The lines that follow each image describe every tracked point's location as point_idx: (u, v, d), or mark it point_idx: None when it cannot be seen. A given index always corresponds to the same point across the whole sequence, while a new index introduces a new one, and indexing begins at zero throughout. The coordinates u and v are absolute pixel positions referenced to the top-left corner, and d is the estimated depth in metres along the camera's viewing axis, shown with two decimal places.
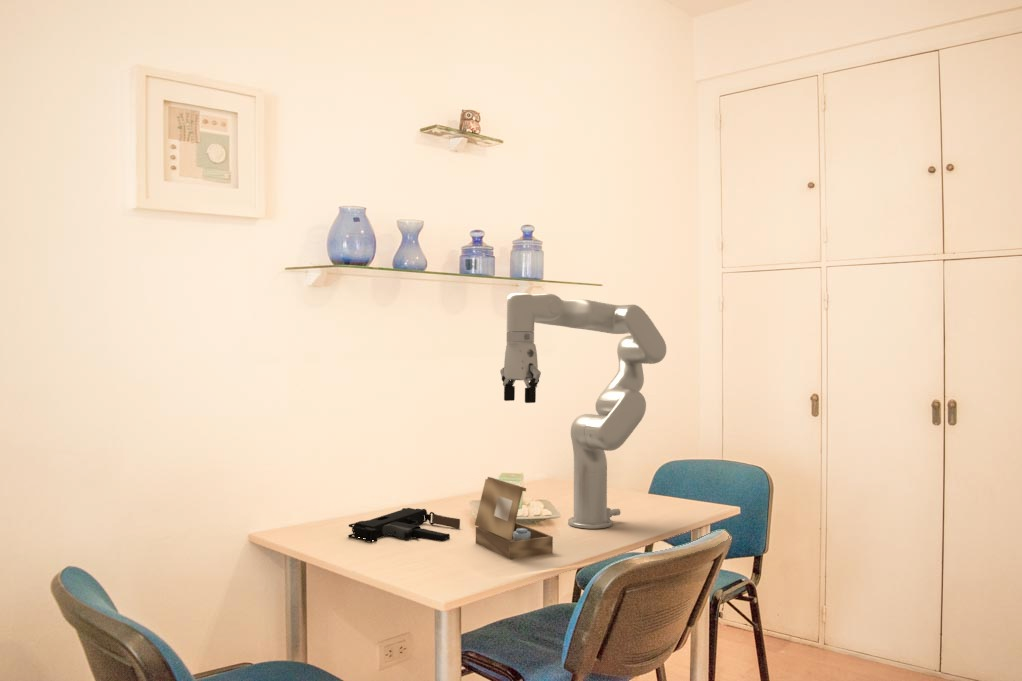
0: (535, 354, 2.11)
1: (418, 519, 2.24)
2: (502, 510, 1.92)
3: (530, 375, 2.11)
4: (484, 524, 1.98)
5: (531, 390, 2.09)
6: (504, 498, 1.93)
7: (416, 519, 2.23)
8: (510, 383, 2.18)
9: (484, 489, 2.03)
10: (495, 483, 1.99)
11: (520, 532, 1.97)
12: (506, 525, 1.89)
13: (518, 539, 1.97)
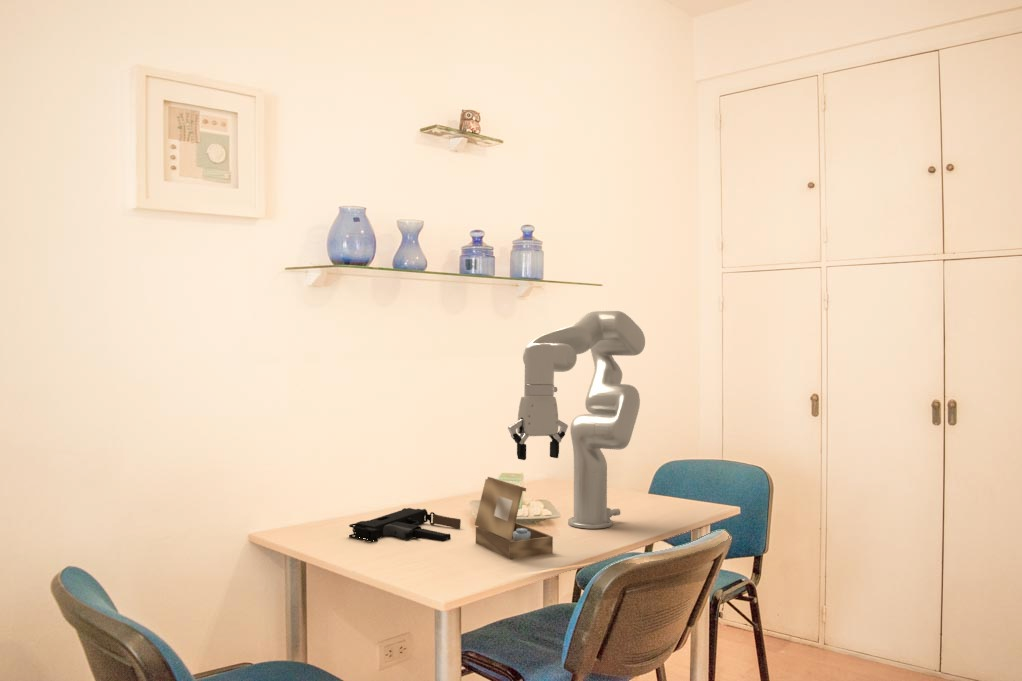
0: None
1: (418, 519, 2.24)
2: (502, 510, 1.92)
3: None
4: (484, 524, 1.98)
5: None
6: (504, 498, 1.93)
7: (416, 519, 2.23)
8: None
9: (484, 489, 2.03)
10: (495, 483, 1.99)
11: (520, 532, 1.97)
12: (506, 525, 1.89)
13: (518, 539, 1.97)
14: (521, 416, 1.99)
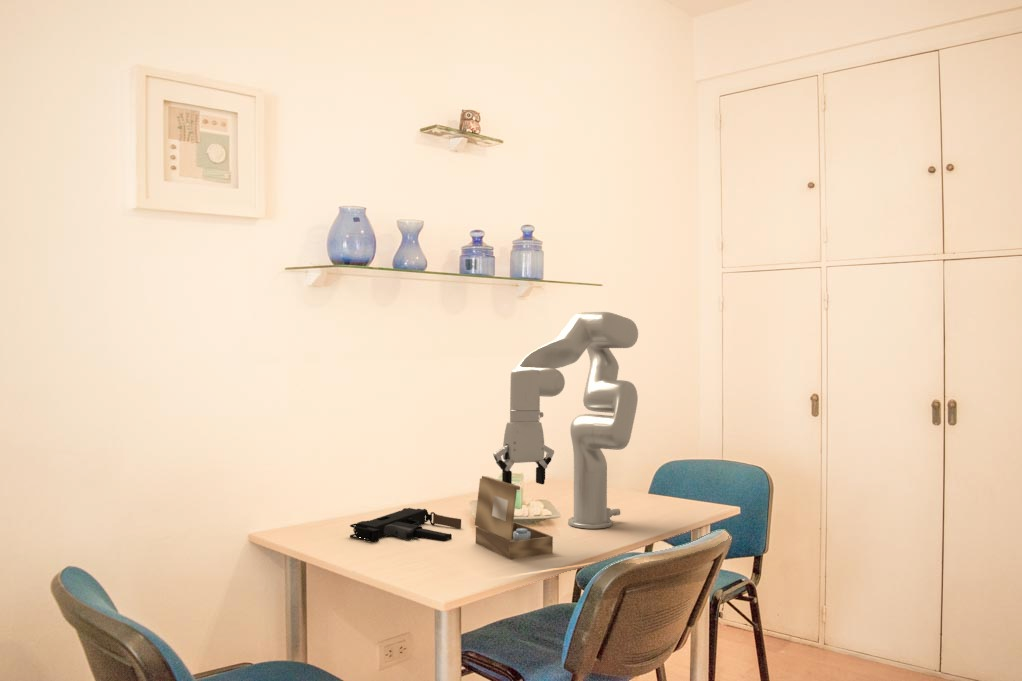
0: None
1: (419, 519, 2.24)
2: (499, 510, 1.92)
3: None
4: (484, 524, 1.98)
5: None
6: (499, 498, 1.93)
7: (417, 519, 2.23)
8: None
9: (480, 489, 2.02)
10: (489, 482, 1.98)
11: (520, 532, 1.97)
12: (505, 525, 1.89)
13: (518, 539, 1.97)
14: (506, 442, 1.97)
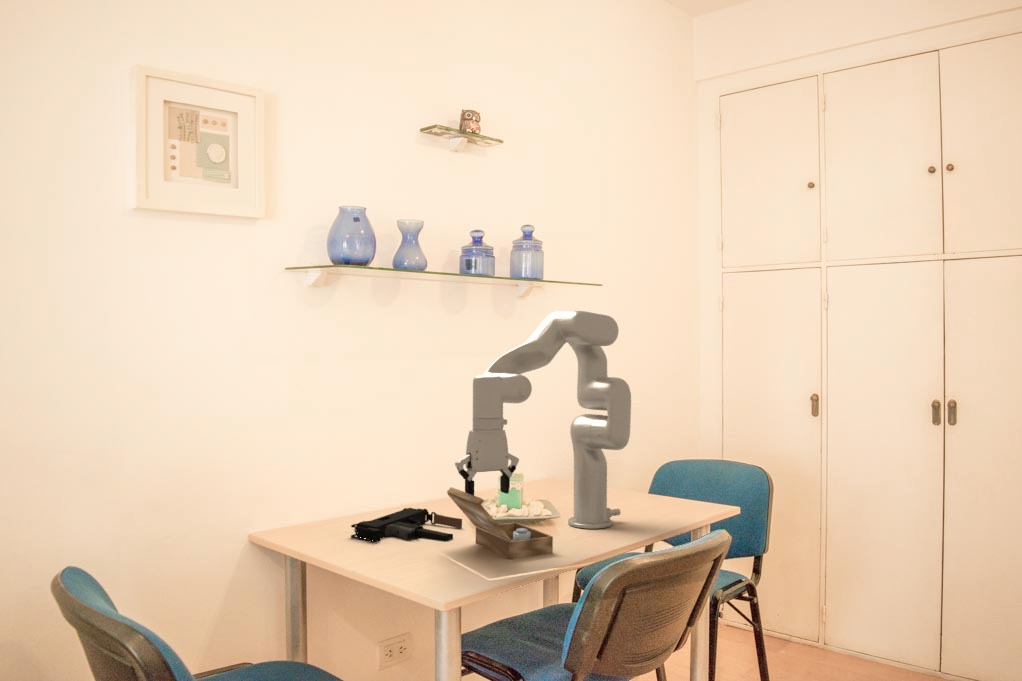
0: None
1: (420, 519, 2.24)
2: (483, 519, 1.90)
3: None
4: (481, 527, 1.98)
5: None
6: (475, 510, 1.90)
7: (418, 519, 2.23)
8: None
9: (454, 501, 1.99)
10: (457, 498, 1.94)
11: (520, 532, 1.97)
12: (496, 530, 1.88)
13: (518, 539, 1.97)
14: (469, 451, 1.92)
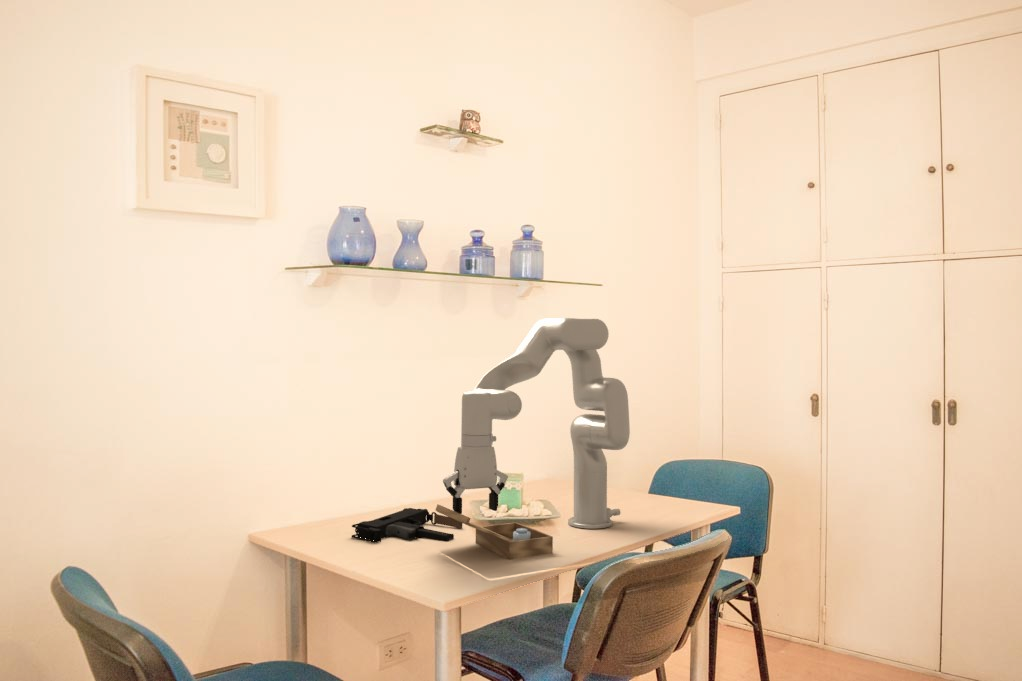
0: None
1: (420, 519, 2.24)
2: None
3: None
4: None
5: None
6: None
7: (418, 519, 2.23)
8: None
9: None
10: (446, 515, 1.92)
11: (520, 532, 1.97)
12: None
13: (518, 539, 1.97)
14: (457, 468, 1.90)
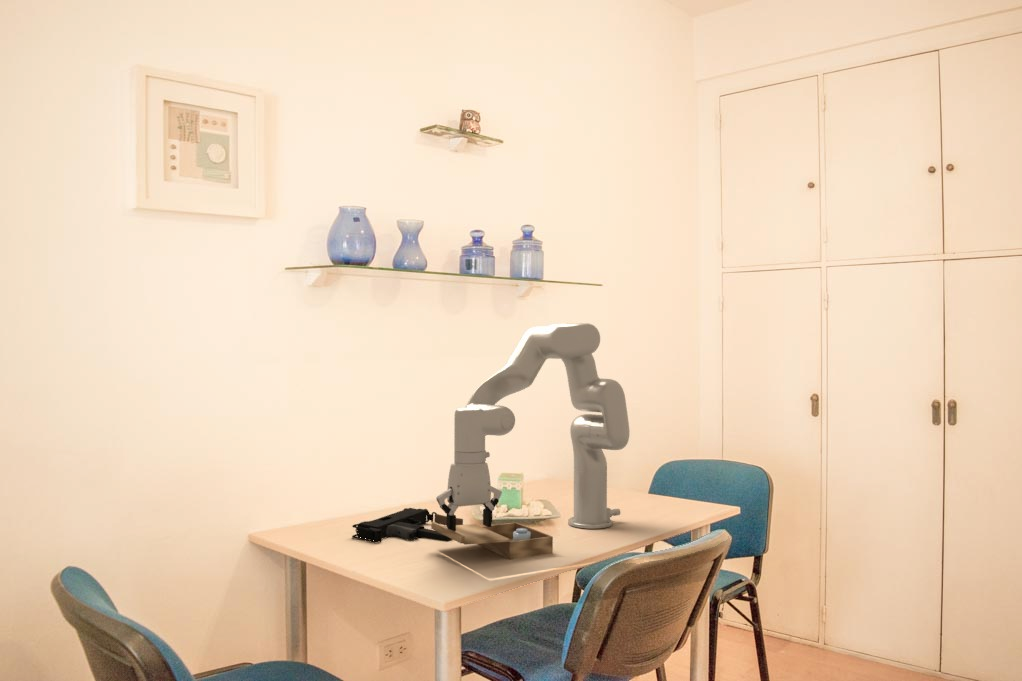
0: None
1: (420, 519, 2.24)
2: None
3: None
4: None
5: None
6: None
7: (418, 519, 2.23)
8: None
9: None
10: None
11: (520, 532, 1.97)
12: None
13: (518, 539, 1.97)
14: (450, 485, 1.89)
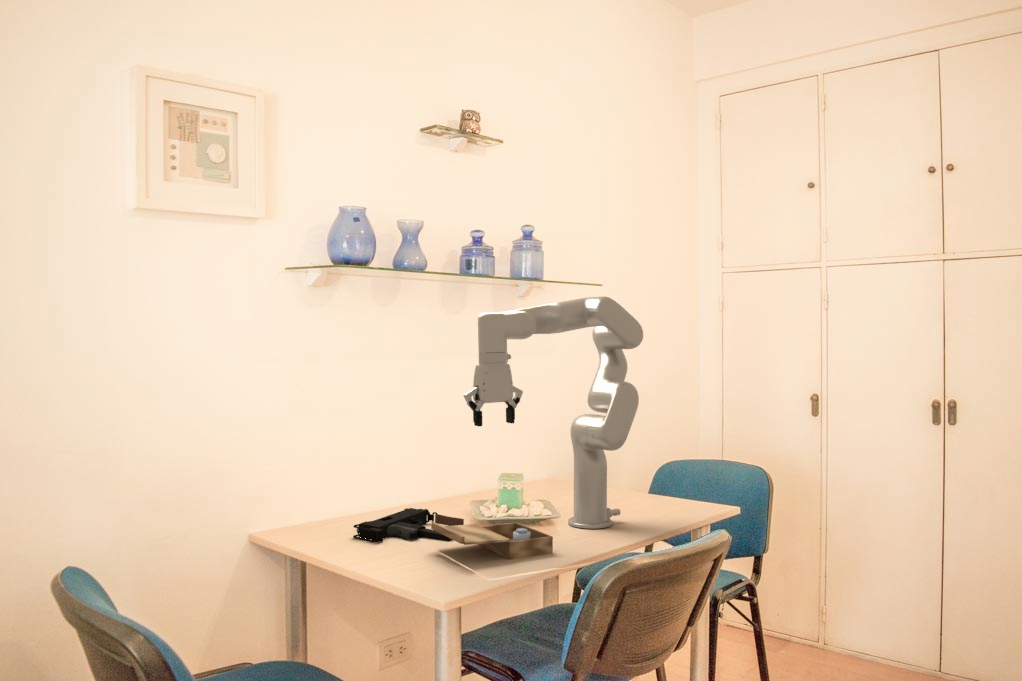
0: None
1: (421, 519, 2.24)
2: None
3: None
4: None
5: None
6: (464, 537, 1.88)
7: (419, 519, 2.23)
8: None
9: None
10: None
11: (520, 532, 1.97)
12: None
13: (518, 539, 1.97)
14: (476, 384, 2.04)
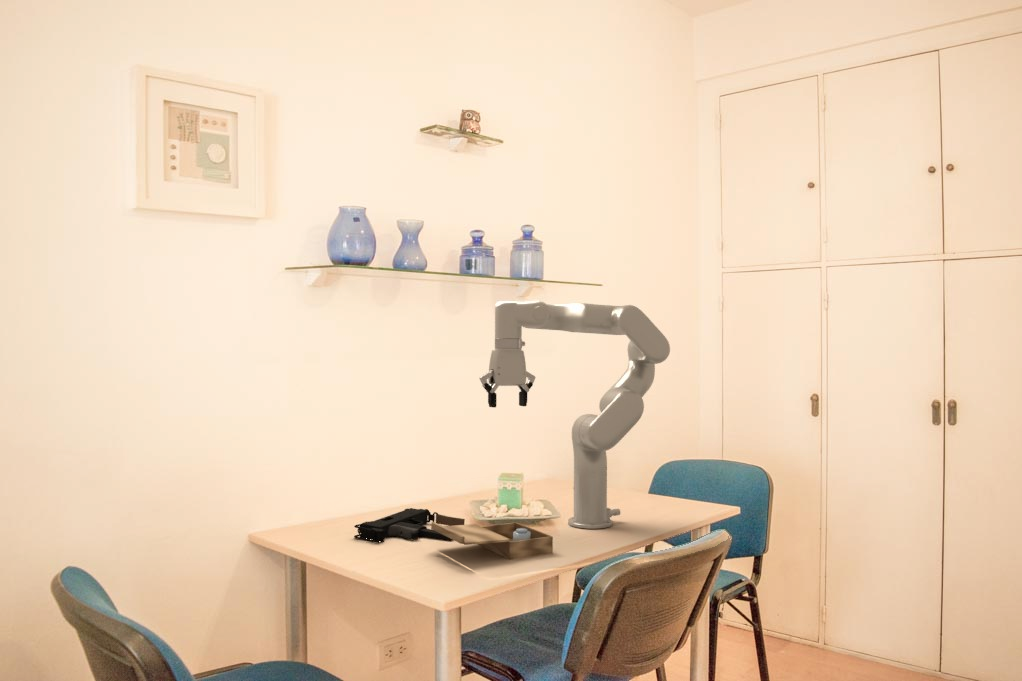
0: None
1: (422, 519, 2.24)
2: None
3: None
4: None
5: None
6: (464, 537, 1.88)
7: (420, 519, 2.23)
8: None
9: None
10: None
11: (520, 532, 1.97)
12: None
13: (518, 539, 1.97)
14: (491, 368, 2.18)
